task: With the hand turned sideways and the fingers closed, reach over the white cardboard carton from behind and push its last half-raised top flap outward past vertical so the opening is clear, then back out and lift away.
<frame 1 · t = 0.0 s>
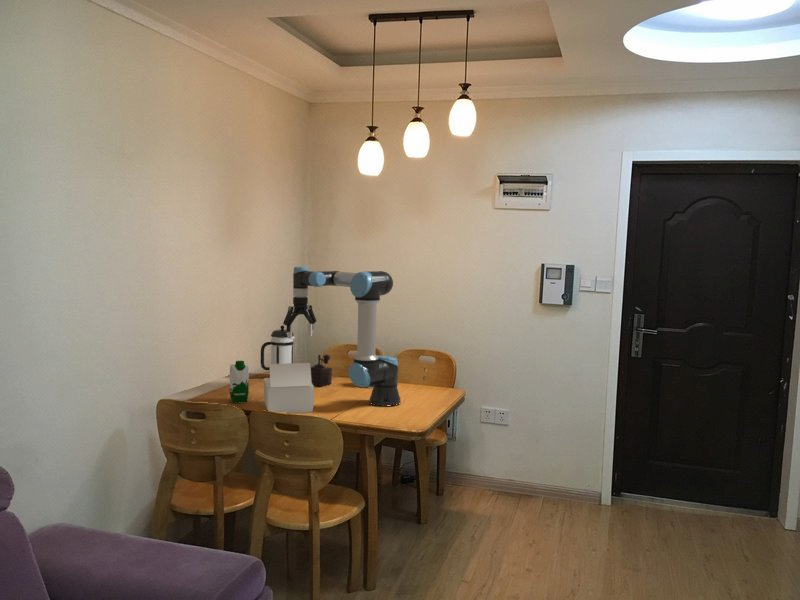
hand: (299, 337, 346), 28 cm above the table, tool pointing down, fingers open, 13 cm apart
coffee press: (280, 378, 378), on the table
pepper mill: (321, 385, 361), on the table
coffee can: (372, 386, 362), on the table
milk carton: (239, 401, 322), on the table
carton flap: (290, 374, 303), point 17 cm above the table, hinge at 60.0°
carton: (288, 407, 313), on the table
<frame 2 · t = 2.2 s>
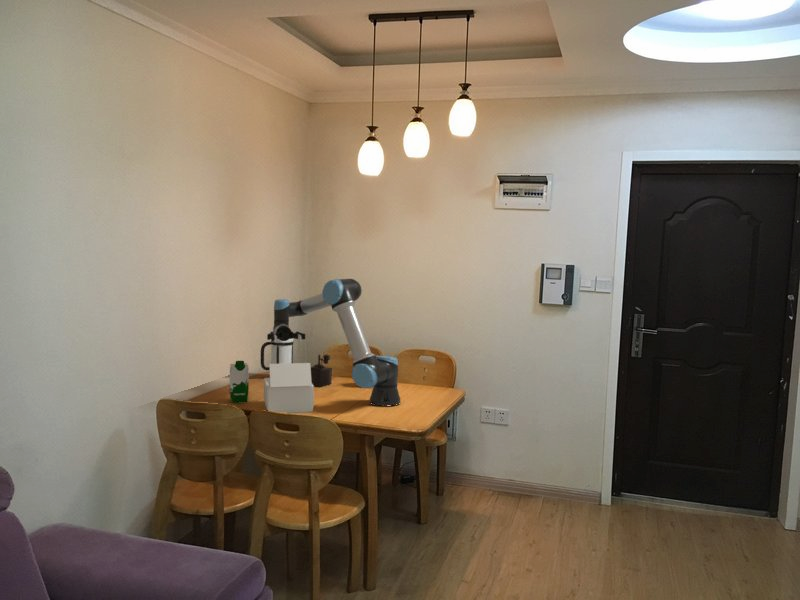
hand: (288, 339, 312), 32 cm above the table, tool horizontal, fingers open, 11 cm apart
nothing on the table moved.
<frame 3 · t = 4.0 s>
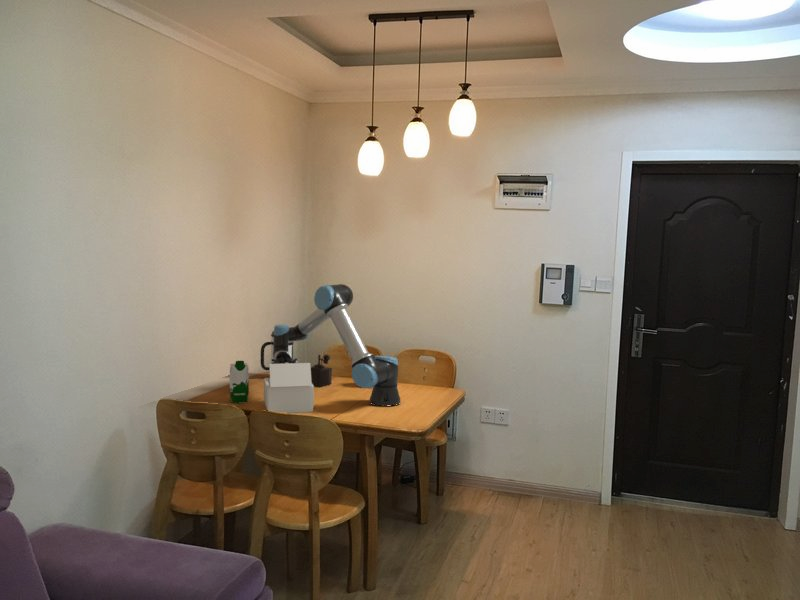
hand: (288, 367, 312), 19 cm above the table, tool horizontal, fingers closed
nothing on the table moved.
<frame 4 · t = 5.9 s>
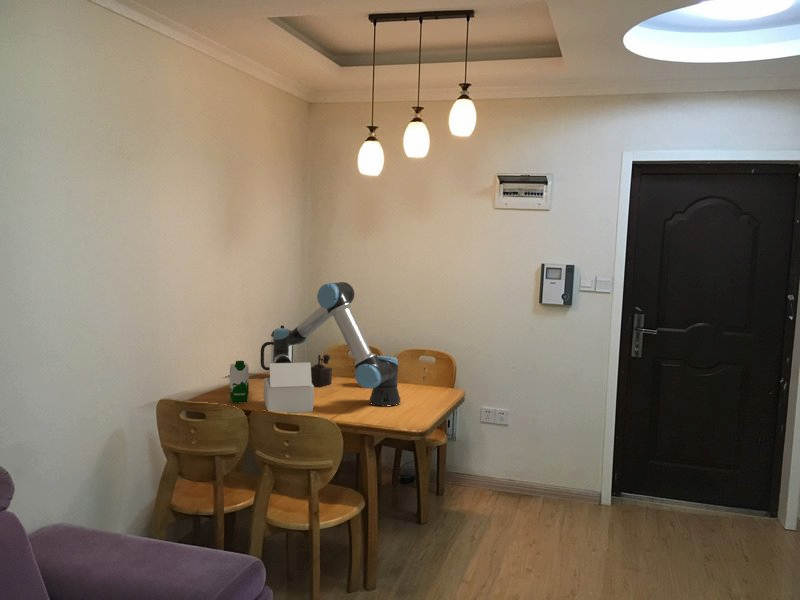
hand: (287, 372, 304), 18 cm above the table, tool horizontal, fingers closed
carton flap: (290, 374, 303), point 17 cm above the table, hinge at 64.0°, touching gripper
everything else where it was.
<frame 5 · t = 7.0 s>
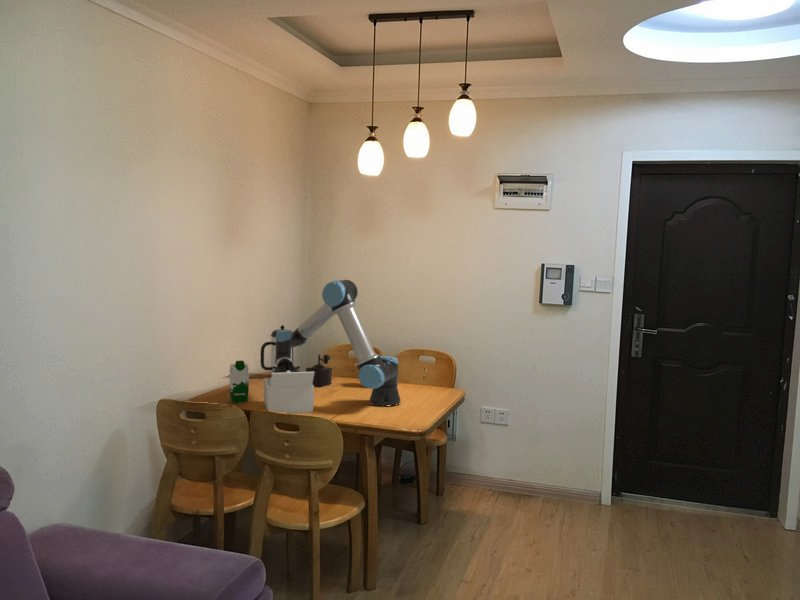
hand: (289, 376, 297), 18 cm above the table, tool horizontal, fingers closed
carton flap: (292, 380, 297), point 16 cm above the table, hinge at 132.2°, touching gripper
everything else where it was.
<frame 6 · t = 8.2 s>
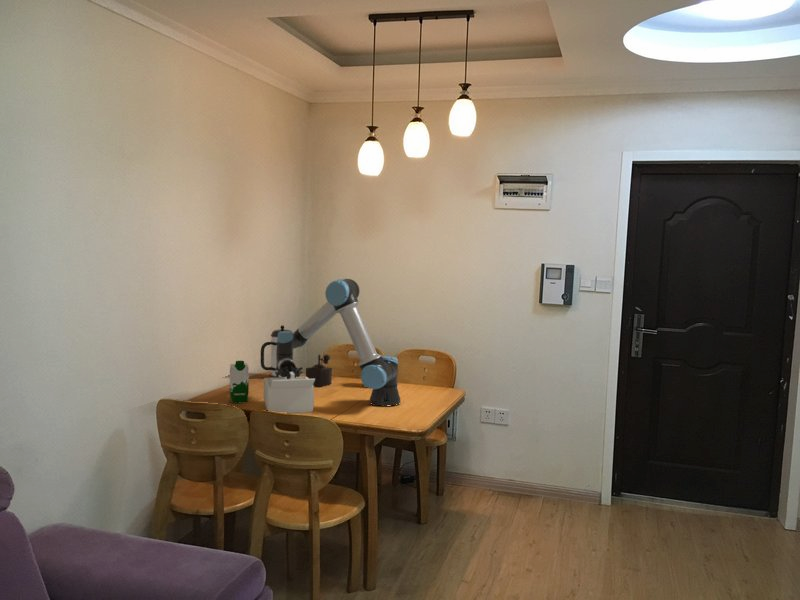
hand: (292, 377, 294), 18 cm above the table, tool horizontal, fingers closed
carton flap: (292, 383, 296), point 15 cm above the table, hinge at 150.0°, touching gripper
everything else where it was.
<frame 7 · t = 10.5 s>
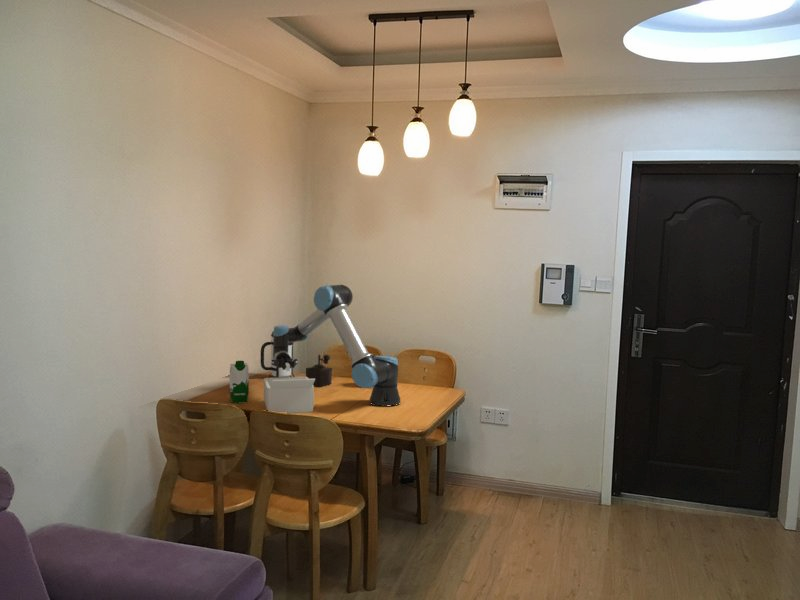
hand: (288, 368, 312), 19 cm above the table, tool horizontal, fingers closed
carton flap: (292, 383, 296), point 15 cm above the table, hinge at 150.1°
everything else where it was.
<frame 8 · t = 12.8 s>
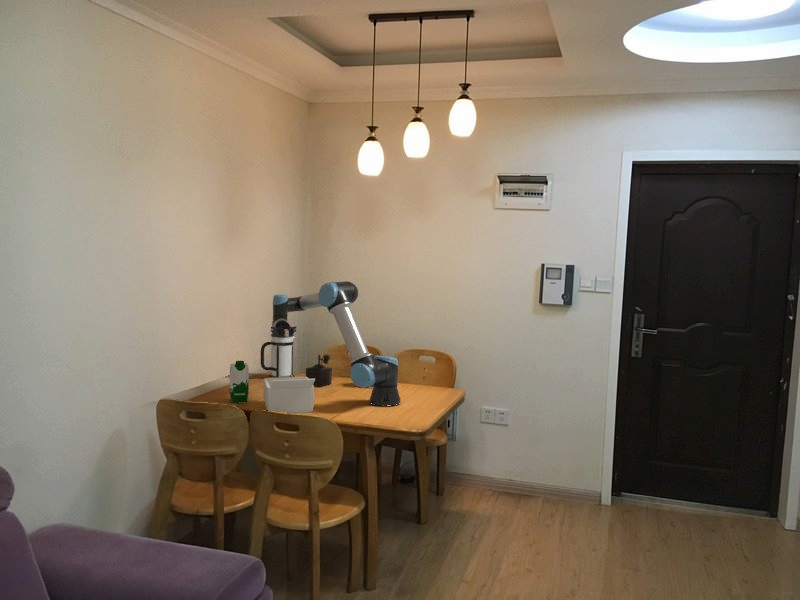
hand: (287, 333, 316), 34 cm above the table, tool horizontal, fingers closed
nothing on the table moved.
at the end: carton flap at +150° (first picture: +60°); milk carton moved 0.2 cm from its start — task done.
